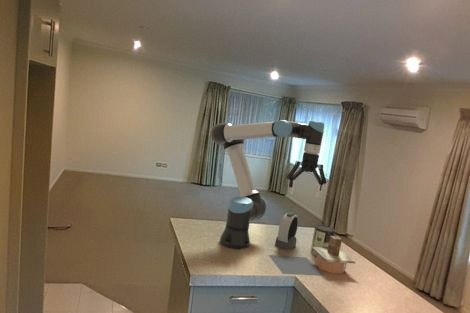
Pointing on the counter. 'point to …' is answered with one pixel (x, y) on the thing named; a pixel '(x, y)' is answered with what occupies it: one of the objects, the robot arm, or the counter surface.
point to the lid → (333, 252)
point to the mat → (295, 265)
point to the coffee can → (321, 237)
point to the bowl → (330, 265)
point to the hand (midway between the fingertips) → (303, 195)
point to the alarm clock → (287, 231)
